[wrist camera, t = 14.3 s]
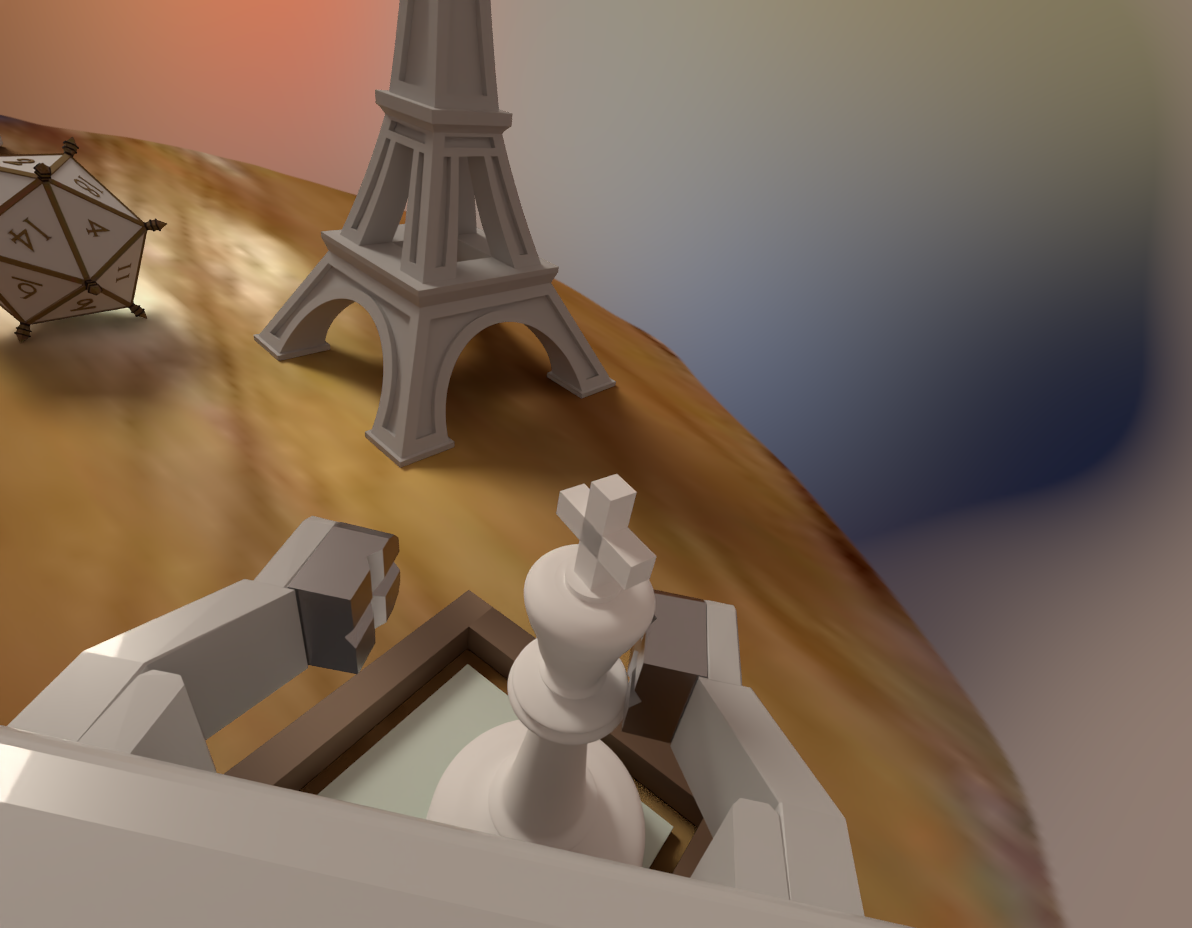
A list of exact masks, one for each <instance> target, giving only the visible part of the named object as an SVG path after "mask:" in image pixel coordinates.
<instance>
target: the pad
mask: <svg viewBox="0 0 1192 928" xmlns="http://www.w3.org/2000/svg"><path fill="white" fill-rule="evenodd" d="M515 720H519V719H518V717H517V716H516V714H515V713H514V711H513V709H512V706H511V704H510V701H509V696H508V695H506V694H505V693H504V692H503V691H501V690H500V689H499V688H497V687H496V686H495V685H494V684H492V683H491V682H490V681H489V680H487V679H486V678H485V677H484V676H482V675H481V674H480V673H479V672H477V671H476V670H475V669H474V668H472V667H471V666H470V665H468V664H467V665H466V666H465V667H464V668H462V669H461V670H460V671H459V672H458V673H457V674H456V675H454V676H453V677H452V678H451V679H450V680H449V681H448V682H446V683H445V684H444V685H443V686H442V687H441V688H439V689H438V690H437V691H436V692H435V693H434V694H433V695H431V696H430V697H429V698H428V699H427V700H426V701H424V702H423V703H422V704H421V705H420V706H419V707H418V708H416V709H415V710H414V711H413V712H412V713H411V714H410V715H408V716H407V717H406V718H405V719H404V720H403V721H401V722H400V723H399V724H398V725H397V726H396V727H395V728H393V729H392V730H391V731H390V732H389V733H388V734H386V735H385V736H384V737H383V738H382V739H381V740H380V741H378V742H377V743H376V744H375V745H374V746H373V747H372V748H370V749H369V750H368V751H367V752H366V753H365V754H363V755H362V756H361V757H360V758H359V759H358V760H357V761H355V762H354V763H353V764H352V765H351V766H350V767H349V768H347V769H346V770H345V771H344V772H343V773H342V774H340V775H339V776H338V777H337V778H336V779H335V780H334V781H332V782H331V783H330V784H329V785H328V786H327V787H325V788H324V789H323V790H322V791H321V792H320V793H319V794H317V795H319V796H323V797H328V798H332V799H337V800H341V801H346V802H350V803H355V804H359V805H364V806H368V807H373V808H377V809H382V810H387V811H391V812H396V813H400V814H405V815H409V816H413V817H418V818H422V819H426V817H427V814H428V810H429V807H430V804H431V801H432V798H433V795H434V792H435V790H436V787H437V785H438V783H439V781H440V779H441V777H442V775H443V773H444V772H445V770H446V769H447V767H448V766H449V764H450V763H451V762H452V760H453V759H454V758H455V757H456V755H457V754H458V753H459V752H460V751H461V750H462V749H463V748H464V747H465V746H466V745H468V744H469V743H470V742H471V741H472V740H474V739H475V738H477V737H478V736H479V735H481V734H483V733H484V732H486V731H488V730H490V729H492V728H494V727H496V726H499V725H501V724H504V723H507V722H511V721H515ZM641 804H642V808H643V813H644V820H645V849H644V856H643V864H642V867H643V868H648V869H649V868H650V866H651V864H652V863H653V861H654V859H655V858H656V856H657V854H658V853H659V851H660V849H661V848H662V846H663V844H664V843H665V841H666V839H667V837H668V836H669V834H670V832H671V831H672V829H673V826H672V825H670V824H669V823H668V822H667V821H665V820H664V819H663V818H662V817H660V816H659V815H658V814H657V813H655V812H654V811H653V810H651V809H650V808H649V807H648V806H646V805H645V804H644V803H643V802H641Z"/></svg>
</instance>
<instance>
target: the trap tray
mask: <svg viewBox="0 0 1192 928" xmlns="http://www.w3.org/2000/svg"><path fill="white" fill-rule="evenodd" d="M535 639H536V638H534V637H533V636H532V635H530V634H529V633H528V632H526V631H525V630H523V629H522V628H521V627H519V626H518V625H517V624H515V623H514V622H512V621H511V620H510V619H508V618H507V617H505V616H504V615H503V614H501V613H500V612H499V611H497V610H496V609H494V608H493V607H492V606H490V605H489V604H488V603H486V602H485V601H483V600H482V599H481V598H479V597H478V596H477V595H475V594H474V593H472V592H471V591H470V590H468V591H467V592H465V593H464V594H463V595H461V596H460V597H459V598H458V599H456V600H455V601H454V602H452V603H451V604H450V605H448V606H447V607H446V608H444V609H443V610H442V611H440V612H439V613H438V614H436V615H435V616H434V617H432V618H431V619H430V620H428V621H427V622H426V623H424V624H423V625H422V626H420V627H419V628H418V629H416V630H415V631H414V632H412V633H411V634H410V635H408V636H407V637H406V638H404V639H403V640H402V641H400V642H399V643H398V644H396V645H395V646H394V647H392V648H391V649H390V650H388V651H387V652H386V653H384V654H383V655H382V656H380V657H379V658H378V659H376V660H375V661H374V662H372V663H371V664H370V665H368V666H367V667H366V668H364V669H363V670H362V671H360V672H359V674H356V675H355V676H354V677H352V678H351V679H350V680H348V681H347V682H346V683H344V684H343V685H342V686H340V687H339V688H338V689H336V690H335V691H334V692H332V693H331V694H330V695H328V696H327V697H326V698H324V699H323V700H322V701H320V702H319V703H318V704H316V705H315V706H314V707H312V708H311V709H310V710H309V711H307V712H306V713H305V714H303V715H302V716H301V717H299V718H298V719H297V720H295V721H294V722H293V723H291V724H290V725H289V726H287V727H286V728H285V729H283V730H282V731H281V732H279V733H278V734H277V735H275V736H274V737H273V738H271V739H270V740H269V741H267V742H266V743H265V744H263V745H262V746H261V747H259V748H258V749H257V750H255V751H254V752H253V753H251V754H250V755H249V756H247V757H246V758H245V759H243V760H242V761H241V762H239V763H238V764H237V765H235V766H234V767H233V768H231V769H230V770H229V771H227V772H226V773H225V774H223V775H228V776H233V777H237V778H242V779H246V780H251V781H255V782H260V783H264V784H269V785H273V786H278V787H282V788H287V789H291V790H296V791H299V790H300V789H301V788H302V787H303V786H305V785H306V784H307V783H308V782H309V781H311V780H312V779H313V778H314V777H315V776H317V775H318V774H319V773H320V772H321V771H322V770H324V769H325V768H326V767H327V766H328V765H330V764H331V763H332V762H333V761H334V760H335V759H337V758H338V757H339V756H340V755H341V754H343V753H344V752H345V751H346V750H347V749H349V748H350V747H351V746H352V745H353V744H354V743H356V742H357V741H358V740H359V739H360V738H362V737H363V736H364V735H365V734H366V733H368V732H369V731H370V730H371V729H372V728H373V727H375V726H376V725H377V724H378V723H379V722H381V721H382V720H383V719H384V718H385V717H386V716H388V715H389V714H390V713H391V712H392V711H394V710H395V709H396V708H397V707H398V706H400V705H401V704H402V703H403V702H404V701H405V700H407V699H408V698H409V697H410V696H411V695H413V694H414V693H415V692H416V691H417V690H419V689H420V688H421V687H422V686H423V685H424V684H426V683H427V682H428V681H429V680H430V679H432V678H433V677H434V676H435V675H436V674H437V673H439V672H440V671H441V670H442V669H443V668H445V667H446V666H447V665H448V664H449V663H451V662H452V661H453V660H454V659H455V658H456V657H458V656H459V655H460V654H461V653H462V652H464V651H465V650H466V649H467V648H468V649H469V650H471V651H472V652H473V653H474V654H476V655H477V656H478V657H480V658H481V659H482V660H483V661H485V662H486V663H487V664H489V665H490V666H491V667H492V668H494V669H495V670H496V671H498V672H499V673H500V674H501V675H503V676H504V677H505V678H507V679H508V677H509V673H510V670H511V667H512V665H513V663H514V661H515V660H516V658H517V657H518V656H519V654H520V653H521V651H522V650H523V649H524V648H525V647H526V646H527V645H528V644H529V643H530V642H532V641H533V640H535ZM622 720H623V719H622ZM621 730H622V721H621V722H620V724H619V725H618V726H617V727H616V728H615V729H614V730H613V731H612V732H611V733H610V734H608V735H607V736H605V737H603V738H602V739H600V740H601V741H602V742H604V743H605V744H606V745H607V746H608V747H609V748H610V749H611V750H612V751H613V752H614V753H615V754H616V755H617V756H618V758H619V759H620V760H621V761H622V763H623V764H624V766H625V767H626V769H627V770H628V772H629V774H630V775H631V776H632V777H634V778H635V779H636V780H638V781H639V782H640V783H641V784H643V785H644V786H645V787H647V788H648V789H649V790H650V791H652V792H653V793H654V794H656V795H657V796H658V797H659V798H661V799H662V800H663V801H665V802H666V803H667V804H668V805H670V806H671V807H672V808H674V809H675V810H676V811H677V812H679V813H680V814H681V815H683V816H684V817H685V818H686V819H688V820H689V821H690V822H692V823H693V824H694V825H695V826H697V827H698V829H697V830H696V832H695V834H694V836H693V838H692V839H691V841H690V843H689V845H688V847H687V848H686V850H685V852H684V854H683V855H682V857H681V859H680V861H679V863H678V864H677V866H676V868H675V870H674V872H673V873H672V874H675V875H679V876H684V877H688V878H690V877H691V876H692V874H693V872H694V870H695V869H696V867H697V865H698V864H699V862H700V860H701V858H702V857H703V855H704V853H705V852H706V850H707V848H708V846H709V845H710V843H711V841H712V840H713V837H712V835H711V833H710V831H709V828H708V826H707V824H706V822H705V820H704V818H703V816H702V813H701V811H700V809H699V807H698V805H697V803H696V800H695V798H694V796H693V794H692V792H691V790H690V788H689V785H688V783H687V781H686V779H685V777H684V775H683V773H682V770H681V768H680V766H679V764H678V762H677V760H676V758H675V755H674V753H673V751H672V749H671V747H670V745H671V744H670V743H666V742H662V741H658V740H654V739H650V738H646V737H642V736H638V735H634V734H630V733H625V732H621Z"/></svg>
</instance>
